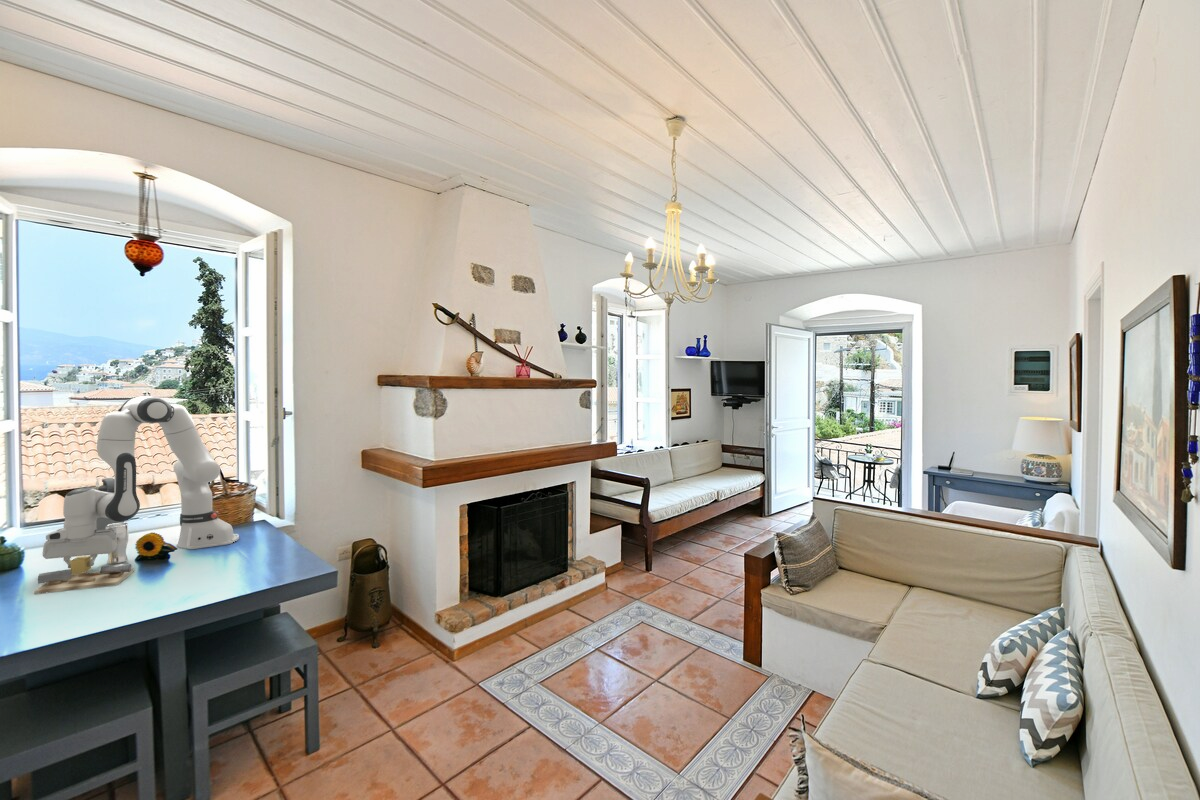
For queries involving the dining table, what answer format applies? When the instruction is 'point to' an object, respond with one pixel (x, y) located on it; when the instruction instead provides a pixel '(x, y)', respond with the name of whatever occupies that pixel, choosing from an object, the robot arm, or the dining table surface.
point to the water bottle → (109, 487)
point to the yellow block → (80, 564)
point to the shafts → (68, 573)
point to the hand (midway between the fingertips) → (80, 566)
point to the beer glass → (119, 543)
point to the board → (84, 582)
